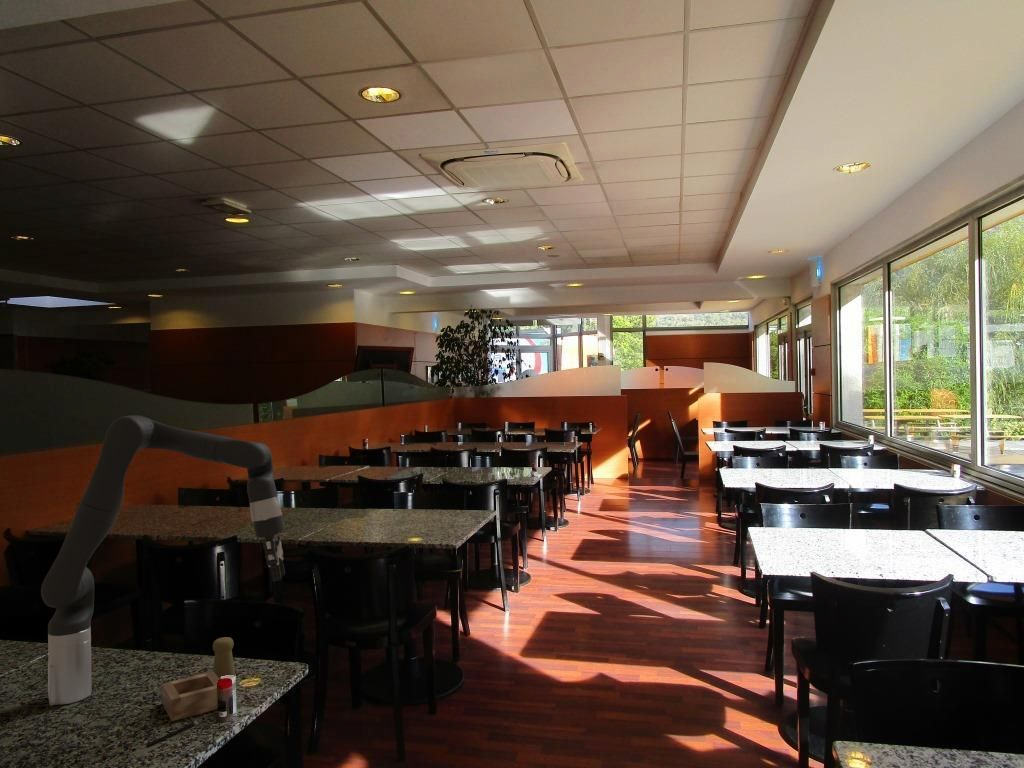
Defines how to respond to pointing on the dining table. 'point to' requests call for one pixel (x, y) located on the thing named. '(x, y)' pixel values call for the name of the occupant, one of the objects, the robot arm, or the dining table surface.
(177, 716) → the wooden box
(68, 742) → the dining table surface
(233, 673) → the cork
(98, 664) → the dining table surface
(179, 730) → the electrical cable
